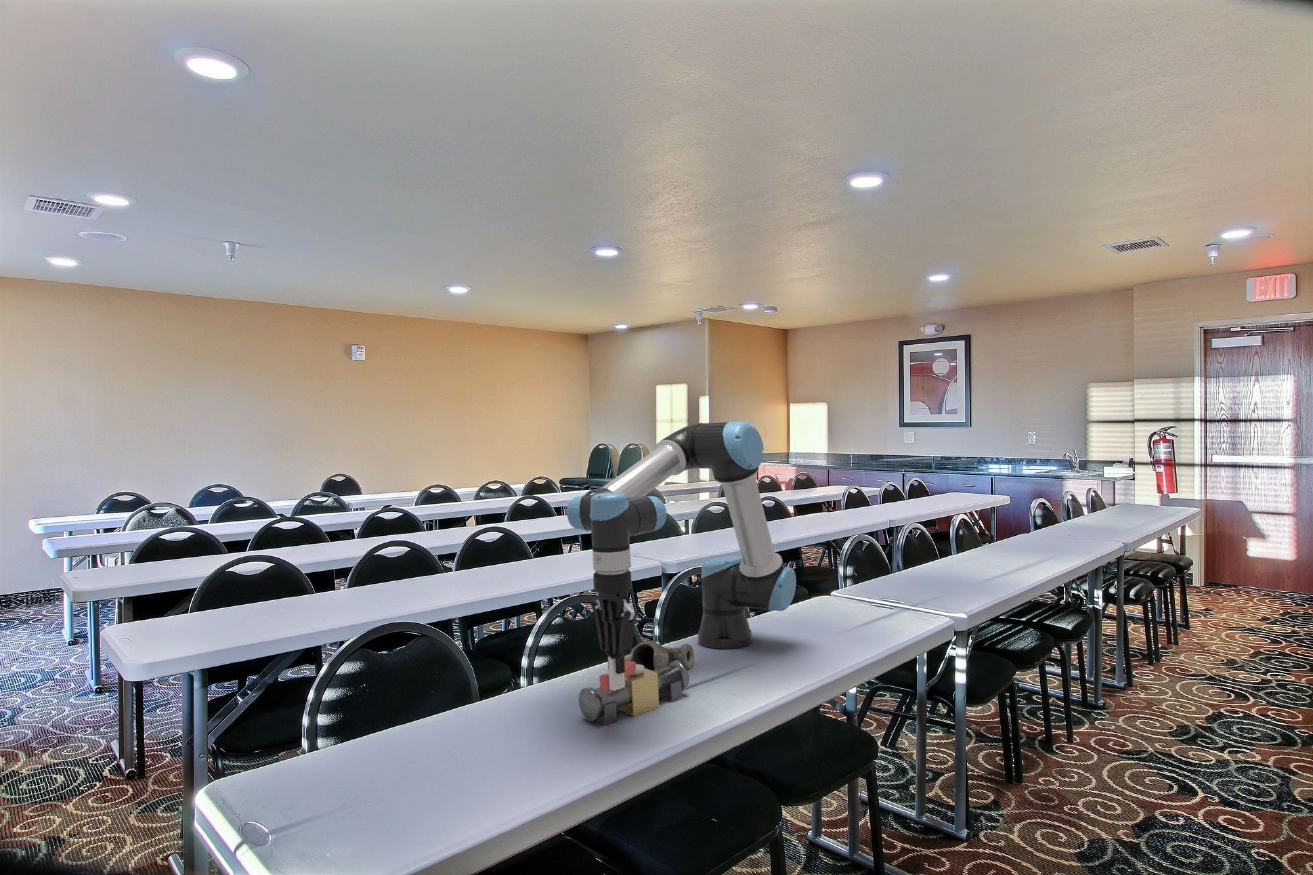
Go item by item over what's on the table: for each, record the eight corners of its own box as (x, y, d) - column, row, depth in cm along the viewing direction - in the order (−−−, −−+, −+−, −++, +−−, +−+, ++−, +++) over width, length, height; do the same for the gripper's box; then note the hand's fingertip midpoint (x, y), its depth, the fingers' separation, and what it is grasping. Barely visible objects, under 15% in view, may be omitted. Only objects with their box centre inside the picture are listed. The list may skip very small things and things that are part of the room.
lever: (630, 668, 166) (630, 653, 166) (647, 669, 164) (646, 654, 164) (594, 693, 151) (594, 677, 151) (612, 696, 149) (611, 679, 149)
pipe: (648, 698, 190) (621, 684, 178) (636, 667, 196) (609, 652, 184) (702, 666, 188) (678, 650, 176) (689, 636, 194) (665, 618, 182)
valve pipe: (670, 688, 174) (669, 656, 174) (690, 696, 168) (689, 663, 168) (579, 718, 158) (577, 683, 158) (597, 728, 153) (596, 692, 152)
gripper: (578, 569, 152) (583, 684, 152) (615, 578, 141) (621, 701, 142) (608, 563, 156) (613, 675, 157) (647, 571, 146) (652, 691, 147)
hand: (617, 687), depth 149 cm, fingers closed
